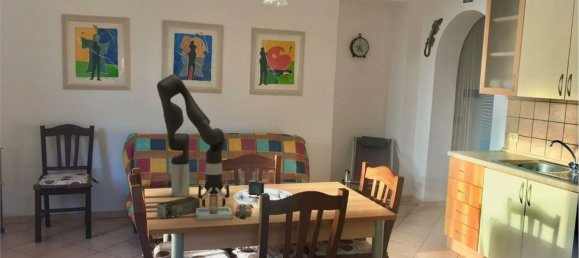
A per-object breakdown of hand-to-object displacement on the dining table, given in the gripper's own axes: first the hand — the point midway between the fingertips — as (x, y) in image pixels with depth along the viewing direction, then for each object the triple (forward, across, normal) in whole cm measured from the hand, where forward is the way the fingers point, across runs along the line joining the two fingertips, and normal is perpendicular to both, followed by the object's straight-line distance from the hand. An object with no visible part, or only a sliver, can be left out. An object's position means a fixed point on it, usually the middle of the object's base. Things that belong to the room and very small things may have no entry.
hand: (213, 206), depth 217 cm
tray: (+5, 0, 0) cm, 5 cm away
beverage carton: (+5, -16, +7) cm, 18 cm away
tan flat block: (+5, +14, +3) cm, 15 cm away
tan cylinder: (+4, 0, 0) cm, 4 cm away
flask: (+5, +23, +30) cm, 38 cm away
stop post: (+5, +13, -4) cm, 14 cm away
